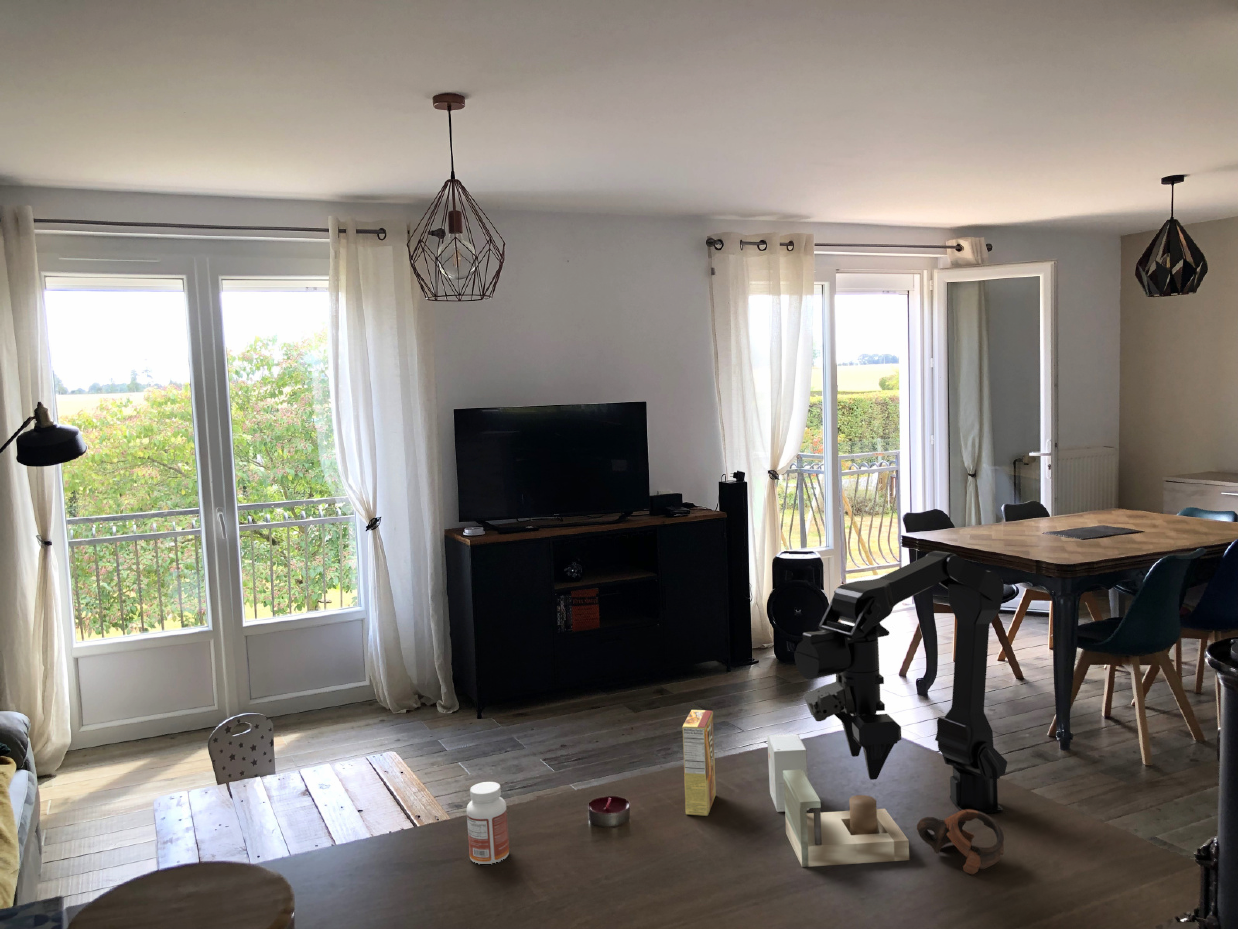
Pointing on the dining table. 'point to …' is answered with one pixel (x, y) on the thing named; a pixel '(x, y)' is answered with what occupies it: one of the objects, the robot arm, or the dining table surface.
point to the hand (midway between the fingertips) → (863, 767)
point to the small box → (784, 763)
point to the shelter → (835, 830)
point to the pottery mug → (962, 838)
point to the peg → (863, 815)
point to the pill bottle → (487, 824)
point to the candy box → (699, 762)
